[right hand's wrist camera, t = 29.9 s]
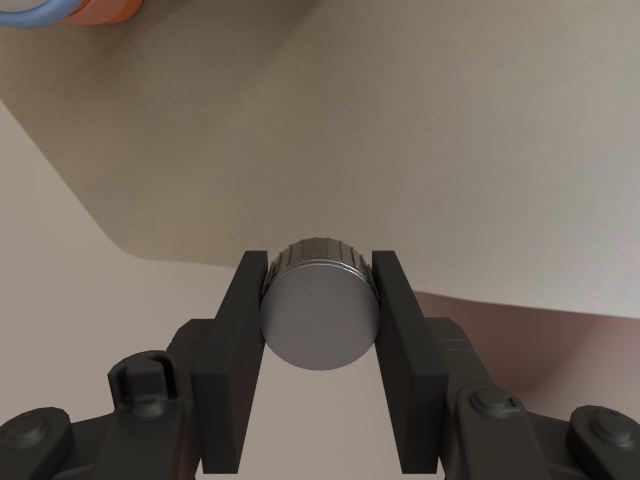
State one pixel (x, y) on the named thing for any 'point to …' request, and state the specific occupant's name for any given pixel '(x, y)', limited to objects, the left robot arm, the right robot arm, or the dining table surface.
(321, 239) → the cap
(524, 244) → the dining table surface
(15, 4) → the cup with straw
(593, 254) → the dining table surface
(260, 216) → the dining table surface
